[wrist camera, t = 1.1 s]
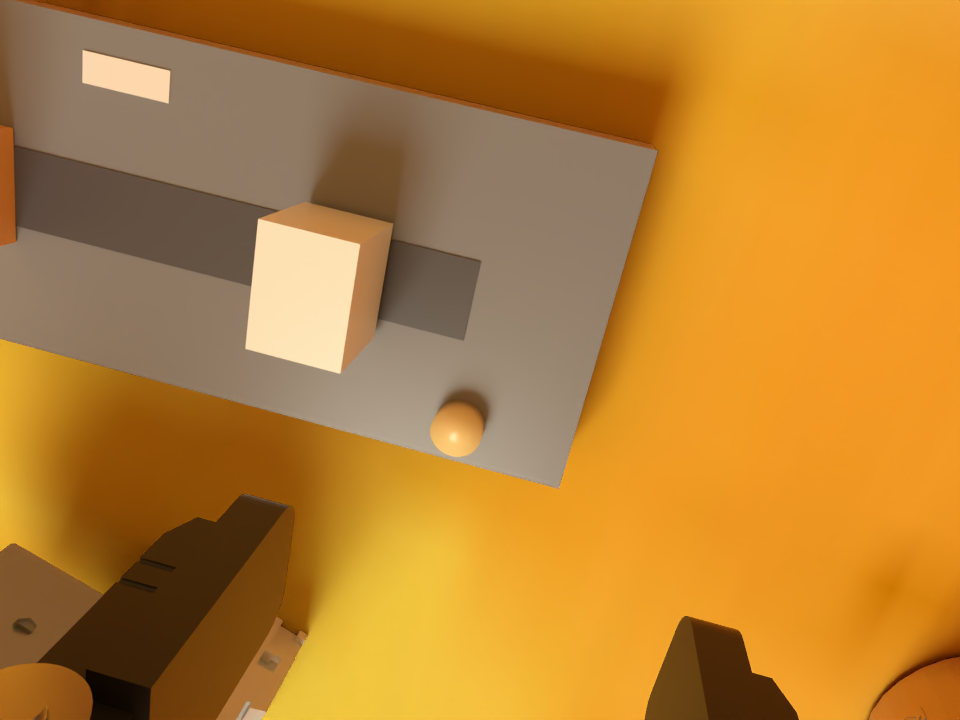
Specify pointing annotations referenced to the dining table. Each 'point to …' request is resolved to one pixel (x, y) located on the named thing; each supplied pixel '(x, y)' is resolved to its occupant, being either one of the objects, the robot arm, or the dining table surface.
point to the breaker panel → (322, 181)
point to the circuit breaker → (64, 600)
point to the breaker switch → (316, 285)
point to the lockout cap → (7, 187)
